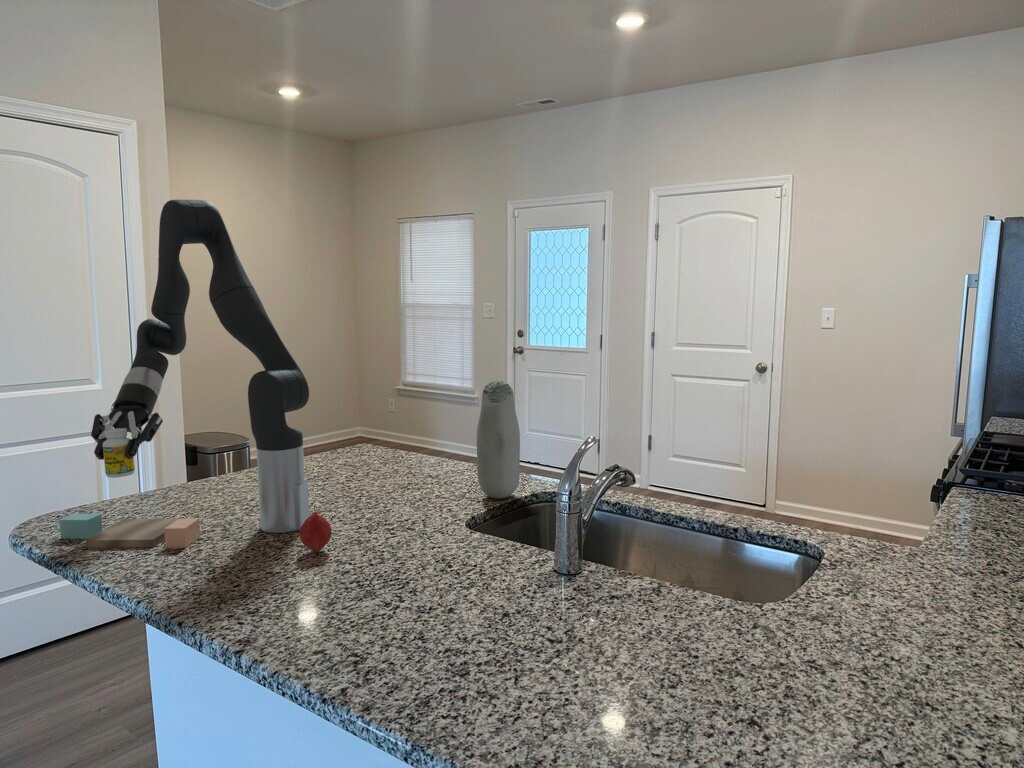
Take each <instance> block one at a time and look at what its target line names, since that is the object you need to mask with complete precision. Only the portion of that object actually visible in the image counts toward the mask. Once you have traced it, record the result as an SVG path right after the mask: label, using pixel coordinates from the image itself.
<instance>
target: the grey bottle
mask: <svg viewBox="0 0 1024 768" xmlns="http://www.w3.org/2000/svg"><path fill="white" fill-rule="evenodd" d="M514 395H515V394H514V390H513V388H512V386H511V385H510V384H509V383H508V382H505V381H502V380H500V381H499V380H495V381H490V382H488V383H487V384H486V385H485V386H484V387H483V389H482V394H481V406H480V413H479V416H478V417H479V418H478V421H477V427H476V457H477V458H476V461H477V468H476V469H477V470H476V471H477V480H478V481H477V482H478V485H479V487H480V489H481V491H482V492H483V493H484V494H485V495H486V496H488V497H489V498H492V499H498V500H499V499H500V500H502V499H505V498H509V497H510V496H512V495H513V493H515V491H516V490H517V488H518V486H519V482H520V476H521V475H520V474H521V470H520V469H521V468H520V467H521V466H520V464H521V461H520V460H521V459H520V458H521V457H520V456H521V434H520V433H521V432H520V426H519V421H518V417H517V412H516V405H515V396H514Z"/></svg>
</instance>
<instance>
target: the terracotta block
mask: <svg viewBox="0 0 1024 768" xmlns="http://www.w3.org/2000/svg"><path fill="white" fill-rule="evenodd" d="M200 528H201V527H200V518H185V519H178V520H176V521H175V522H173V523H172V524H170V525H169V526H167V527H166V528H164V533H165V540H164V543H165V544H164V545H165V549H181V548H182V549H185V548H186V547H187V548H189V546H190V545H191V543H192V544H193V543H195V542H196V541H197V540H198V539H200V538H201V529H200ZM199 537H200V538H199ZM195 540H196V541H195Z"/></svg>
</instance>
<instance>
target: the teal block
mask: <svg viewBox="0 0 1024 768" xmlns="http://www.w3.org/2000/svg"><path fill="white" fill-rule="evenodd" d="M58 522H59V531H60V539H79V540H80V539H83V540H87V539H89V538H91V537H93V536H94V535H96V534H98V533H100V532H101V531H103V521H102V514H101V513H71V514H70V515H68V516H65V517H63V518H60V519H59V521H58Z"/></svg>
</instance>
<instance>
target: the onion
mask: <svg viewBox="0 0 1024 768" xmlns="http://www.w3.org/2000/svg"><path fill="white" fill-rule="evenodd" d="M299 538H300V541H301V543H302V544H303V546H305V547H306V548H308V549H309V550H311V551H312V552H314V553H320V551H321V550H322V549H323V548H324V547H325V546H326V545H327V544H328V543H329V542H330V540H331V538H332V526H331V524H330V522H329V521H328V520H327V518H325V517H323V515H320V514H319V512H318V510H314V511H313V513H312V514H310V515H309V517H308V518H307V519H306V520H305V521H304V523H303V525H302V526H301V528H300V530H299Z"/></svg>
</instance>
